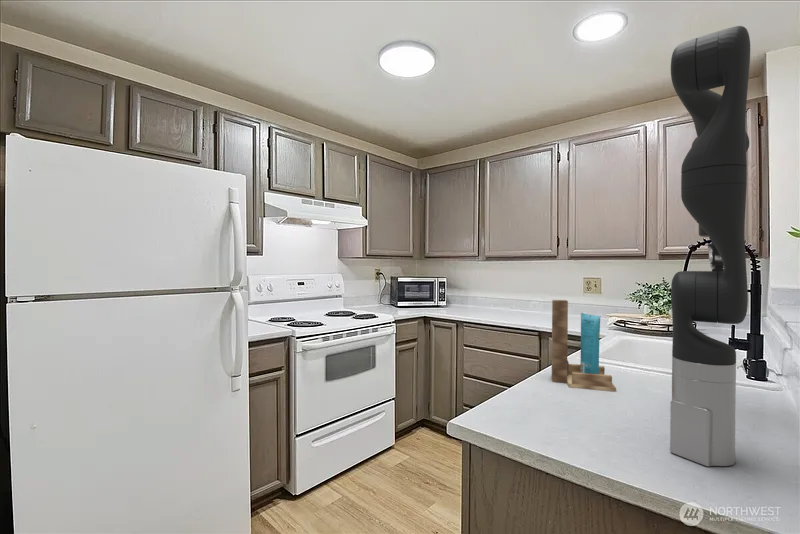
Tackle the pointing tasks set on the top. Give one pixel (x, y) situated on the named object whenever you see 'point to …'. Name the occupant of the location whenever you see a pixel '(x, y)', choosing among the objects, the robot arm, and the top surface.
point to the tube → (590, 343)
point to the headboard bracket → (560, 364)
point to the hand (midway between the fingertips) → (717, 284)
